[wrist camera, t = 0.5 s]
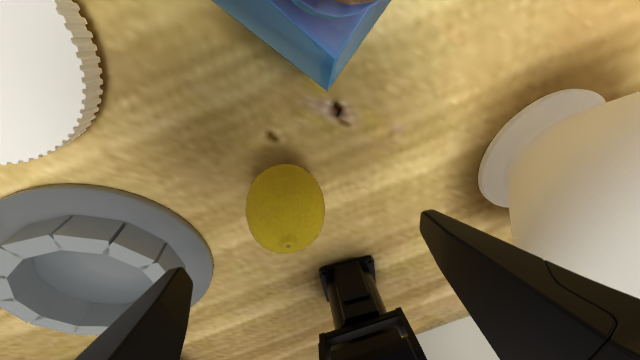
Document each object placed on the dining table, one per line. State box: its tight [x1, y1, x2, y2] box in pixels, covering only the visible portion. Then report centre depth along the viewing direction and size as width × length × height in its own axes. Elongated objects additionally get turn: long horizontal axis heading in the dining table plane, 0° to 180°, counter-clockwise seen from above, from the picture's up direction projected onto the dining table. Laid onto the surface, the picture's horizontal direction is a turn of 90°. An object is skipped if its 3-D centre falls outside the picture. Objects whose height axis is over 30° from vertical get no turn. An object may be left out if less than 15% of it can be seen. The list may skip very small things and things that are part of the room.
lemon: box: [246, 164, 325, 254], centre depth 17 cm, size 6×6×8 cm
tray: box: [0, 184, 214, 335], centre depth 21 cm, size 18×18×3 cm
